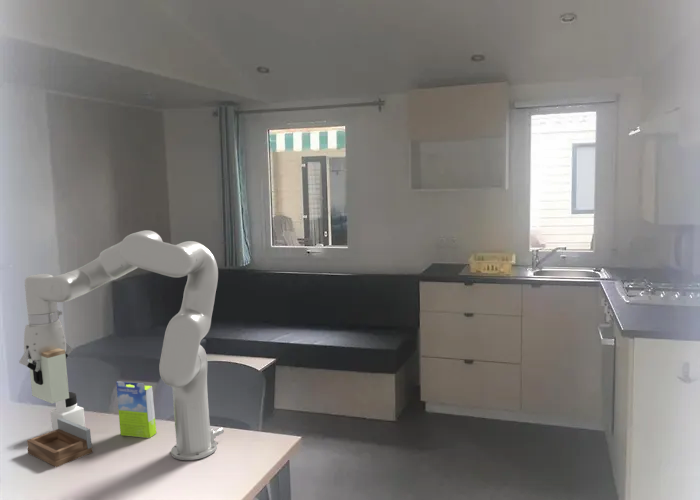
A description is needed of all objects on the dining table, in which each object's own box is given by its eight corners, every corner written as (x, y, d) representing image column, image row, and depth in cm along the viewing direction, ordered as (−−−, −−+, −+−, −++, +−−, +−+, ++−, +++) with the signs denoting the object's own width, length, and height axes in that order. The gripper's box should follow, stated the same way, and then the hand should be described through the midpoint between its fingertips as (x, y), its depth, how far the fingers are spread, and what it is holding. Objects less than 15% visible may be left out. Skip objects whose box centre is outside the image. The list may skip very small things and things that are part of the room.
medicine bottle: (73, 424, 198) (70, 388, 196) (86, 429, 194) (82, 392, 192) (52, 432, 192) (48, 395, 191) (64, 437, 188) (60, 399, 186)
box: (157, 433, 188) (152, 379, 186) (149, 439, 184) (144, 383, 182) (127, 430, 191) (122, 377, 189) (119, 436, 187) (114, 381, 185)
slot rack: (63, 439, 186) (61, 417, 185) (92, 452, 177) (90, 429, 176) (28, 453, 178) (25, 430, 177) (56, 467, 168) (53, 443, 167)
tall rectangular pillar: (49, 390, 180) (45, 344, 178) (69, 397, 173) (65, 350, 172) (32, 395, 176) (27, 348, 174) (51, 403, 169) (47, 354, 168)
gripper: (65, 310, 181) (70, 370, 183) (5, 323, 167) (11, 387, 170) (79, 313, 176) (84, 374, 179) (18, 326, 163) (25, 392, 165)
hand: (49, 380), depth 174 cm, fingers closed on tall rectangular pillar, 5 cm apart
